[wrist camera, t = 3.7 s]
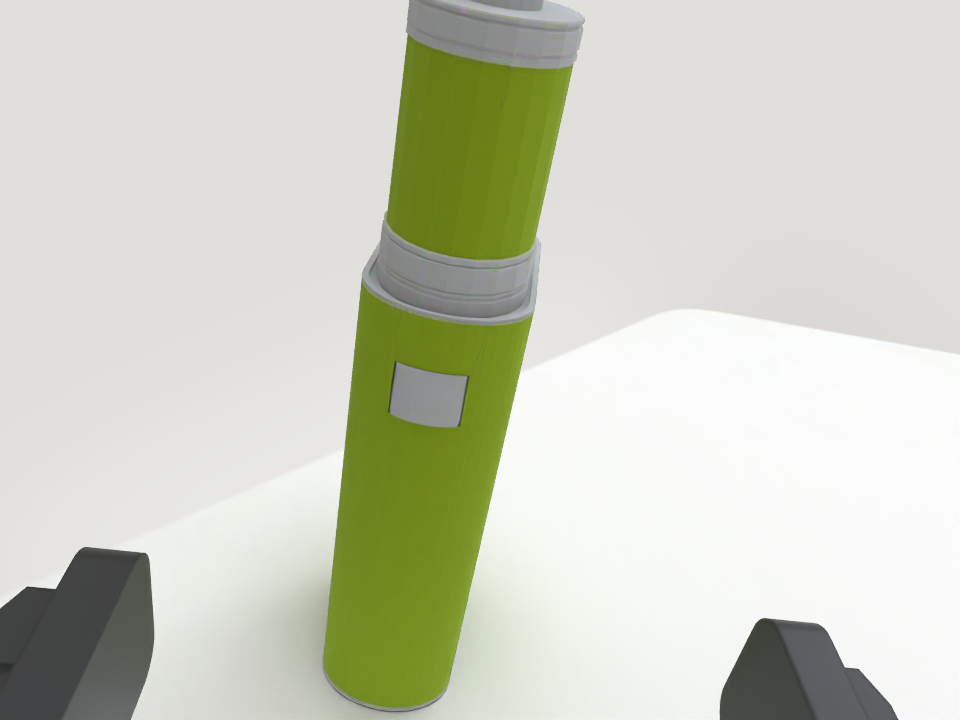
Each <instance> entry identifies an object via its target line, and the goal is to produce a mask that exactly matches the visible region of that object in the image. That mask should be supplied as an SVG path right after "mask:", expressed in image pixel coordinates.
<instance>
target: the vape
mask: <svg viewBox="0 0 960 720" xmlns="http://www.w3.org/2000/svg"><path fill="white" fill-rule="evenodd" d="M407 21H408V22H407V29H406V32H407V34H408V37H407V46H406V55H405V64H404V73H403V81H402V90H401V98H400V108H399V116H398V125H397V134H396V143H395V151H394V160H393V169H392V177H391V186H390V195H389V204H388V211H387V212H385V216H384V220H383V225H382V232H381V240H380V242H379V244H378V245H377V247H376V249H375V250H374V252H373V254H372V256H371V257H370V259H369V261H368V263H367V265H366V266H365V268H364V270H363V273H362V283H361V292H360V302H359V312H358V322H357V332H356V342H355V351H354V362H353V371H352V381H351V392H350V401H349V412H348V421H347V431H346V441H345V450H344V460H343V470H342V480H341V490H340V500H339V510H338V520H337V530H336V539H335V549H334V559H333V569H332V579H331V589H330V599H329V609H328V619H327V628H326V638H325V648H324V659H323V669H324V673H325V675H326V678H327V679H328V681H329V682H330V684H331V685H332V686H333V687H334V688H335V689H336V690H337V691H338V692H339V693H341V694H342V695H343V696H345V697H346V698H348V699H350V700H352V701H354V702H356V703H358V704H361V705H363V706H366V707H370V708H374V709H379V710H385V711H408V710H414V709H418V708H422V707H424V706H427V705H429V704H431V703H433V702H434V701H436V700H437V699H439V698H440V697H441V696H442V695H443V693H444V692H445V690H446V688H447V686H448V683H449V678H450V674H451V670H452V665H453V661H454V657H455V652H456V648H457V644H458V639H459V635H460V631H461V626H462V622H463V618H464V613H465V609H466V604H467V600H468V596H469V591H470V587H471V583H472V578H473V574H474V570H475V565H476V561H477V557H478V552H479V548H480V544H481V539H482V535H483V531H484V526H485V522H486V517H487V513H488V509H489V504H490V500H491V496H492V491H493V487H494V483H495V478H496V474H497V470H498V465H499V461H500V457H501V452H502V448H503V443H504V439H505V435H506V430H507V426H508V422H509V417H510V413H511V409H512V404H513V400H514V396H515V391H516V387H517V383H518V378H519V374H520V370H521V365H522V361H523V356H524V352H525V348H526V343H527V339H528V335H529V330H530V326H531V322H532V317H533V312H534V309H535V304H536V294H537V283H538V272H539V262H540V251H541V243H540V241H539V240H538V238H537V237H536V232H537V227H538V223H539V218H540V214H541V209H542V205H543V200H544V196H545V191H546V186H547V182H548V177H549V173H550V168H551V164H552V159H553V155H554V150H555V146H556V141H557V136H558V132H559V127H560V123H561V118H562V113H563V109H564V105H565V100H566V95H567V91H568V86H569V82H570V77H571V72H572V68H573V63H574V62H575V61H576V58H577V51H578V50H579V46H580V42H581V37H582V33H583V27H582V25H583V24H584V22H585V18H584V17H583V16H582V15H581V14H580V13H578V12H576V11H574V10H572V9H570V8H567V7H564V6H562V5H559V4H556V3H553V2H549V1H545V0H409V9H408V18H407Z"/></svg>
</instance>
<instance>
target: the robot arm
mask: <svg viewBox="0 0 960 720" xmlns="http://www.w3.org/2000/svg"><path fill="white" fill-rule="evenodd" d="M153 645H154V620H153V605H152V591H151V576H150V563H149V558H148V555H147V554H146V553H139V552H130V551H120V550H110V549H99V548H90V547H84V548H82V549H80V550H79V551H78V553H77V554H76V555H75V556H74V558H73V560H72V562H71V563H70V565H69V567H68V568H67V570H66V572H65V574H64V576H63V577H62V579H61V581H60V583H59V584H58V586H57V588H56V589H47V588H37V587H26V588H25V589H24V590H22V591H21V592H20V593H19V594H18V595H16V596H15V597H14V598H13V599H11V600H10V601H9V602H8V603H7V604H5V605H4V606H3V607H2V608H1V609H0V720H131V717H132V715H133V712H134V710H135V707H136V704H137V702H138V699H139V697H140V694H141V692H142V689H143V686H144V684H145V681H146V678H147V674H148V671H149V667H150V663H151V658H152V652H153ZM720 720H898V718H897V716H896V714H895V712H894V710H893V708H892V706H891V705H890V704H889V702H888V701H887V700H886V699H885V698H884V697H883V696H882V695H881V694H880V692H879V691H878V690H877V689H876V688H875V687H874V686H873V685H872V683H871V682H870V681H869V680H868V679H867V678H866V677H865V676H864V675H863V673H862V672H861V671H860V670H859V669H854V668H845V667H844V665H843V663H842V661H841V659H840V657H839V655H838V653H837V650H836V648H835V646H834V644H833V642H832V640H831V638H830V636H829V634H828V633H827V631H826V630H825V629H824V628H823V627H822V626H821V625H819V624H816V623H807V622H797V621H787V620H777V619H767V618H763V619H760V620H759V621H758V622H757V623H756V624H755V626H754V628H753V630H752V632H751V634H750V636H749V638H748V640H747V642H746V644H745V646H744V648H743V650H742V652H741V654H740V656H739V658H738V660H737V662H736V664H735V666H734V668H733V670H732V672H731V674H730V676H729V678H728V680H727V682H726V684H725V686H724V688H723V691H722V695H721V701H720Z"/></svg>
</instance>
